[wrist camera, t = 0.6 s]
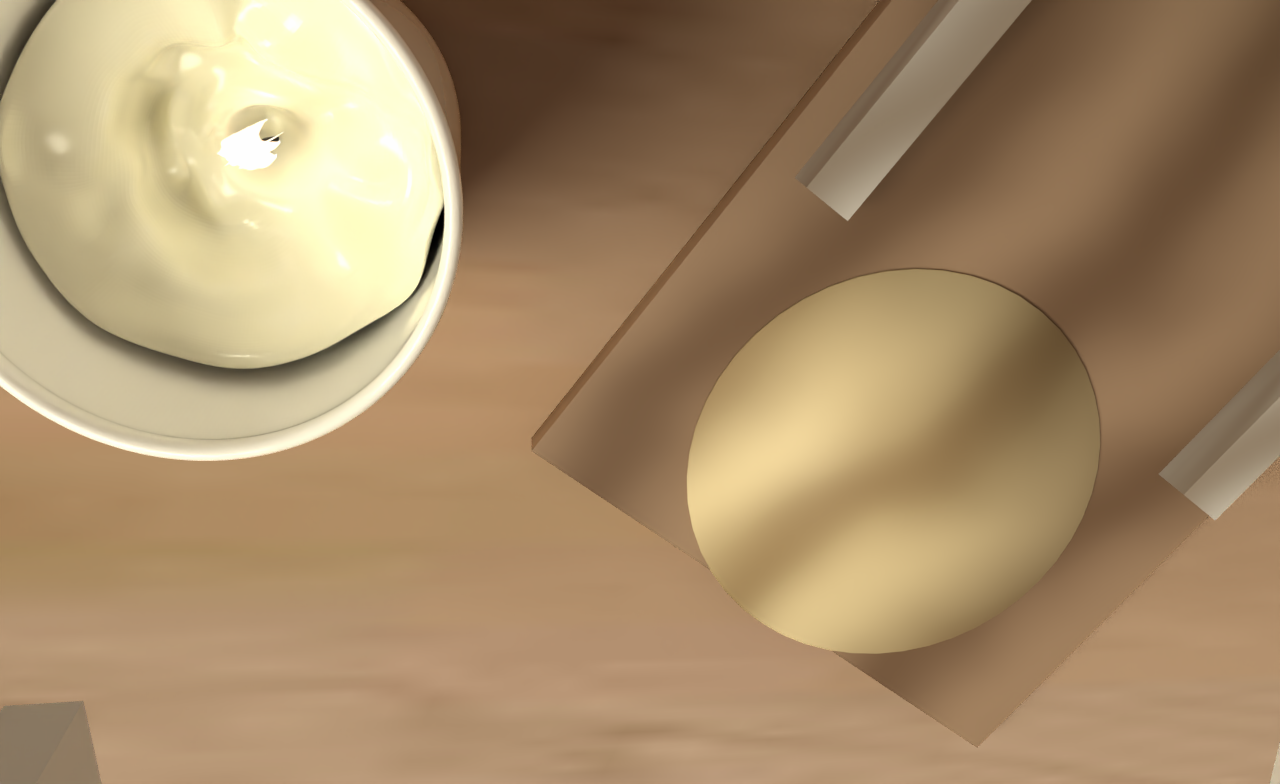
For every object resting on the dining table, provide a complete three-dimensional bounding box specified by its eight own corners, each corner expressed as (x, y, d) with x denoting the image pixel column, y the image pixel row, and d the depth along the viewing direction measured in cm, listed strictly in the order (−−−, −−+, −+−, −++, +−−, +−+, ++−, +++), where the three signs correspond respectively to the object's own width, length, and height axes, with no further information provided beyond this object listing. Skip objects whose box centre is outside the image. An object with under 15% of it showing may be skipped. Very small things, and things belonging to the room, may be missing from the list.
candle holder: (537, 10, 31) (537, 36, 19) (426, 338, 34) (372, 525, 22) (166, -137, 29) (-70, -201, 17) (84, 225, 32) (-164, 369, 20)
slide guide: (522, 450, 35) (519, 542, 29) (1137, -323, 29) (1281, -391, 23) (957, 739, 40) (1025, 864, 35) (1553, 137, 34) (1750, 171, 29)
